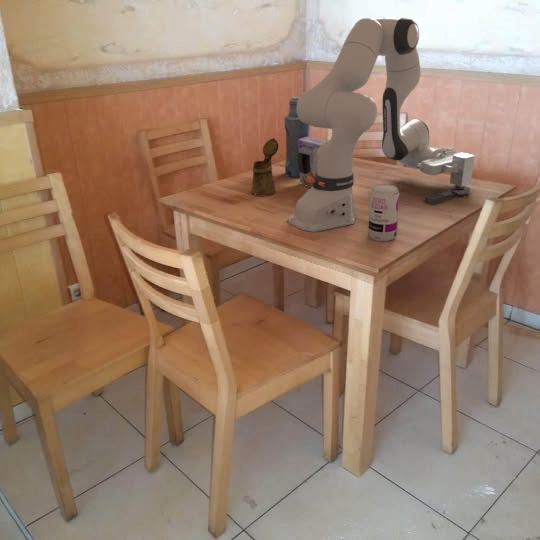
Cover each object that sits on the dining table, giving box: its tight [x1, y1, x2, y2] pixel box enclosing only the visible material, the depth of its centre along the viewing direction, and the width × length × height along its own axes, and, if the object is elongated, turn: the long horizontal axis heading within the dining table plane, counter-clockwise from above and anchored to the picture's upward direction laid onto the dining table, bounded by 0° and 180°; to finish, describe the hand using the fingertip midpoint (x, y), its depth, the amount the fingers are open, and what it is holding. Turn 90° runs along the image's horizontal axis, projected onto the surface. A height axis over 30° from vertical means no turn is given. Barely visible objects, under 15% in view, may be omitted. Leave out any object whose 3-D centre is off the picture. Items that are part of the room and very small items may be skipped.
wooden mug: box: [251, 137, 279, 196], centre depth 203 cm, size 9×14×18 cm, turn 150°
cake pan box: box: [298, 136, 326, 188], centre depth 203 cm, size 19×5×18 cm, turn 33°
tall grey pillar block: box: [449, 152, 475, 187], centre depth 192 cm, size 5×5×10 cm
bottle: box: [284, 96, 311, 178], centre depth 217 cm, size 10×10×30 cm
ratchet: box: [424, 184, 471, 206], centre depth 192 cm, size 19×7×6 cm, turn 124°
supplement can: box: [367, 183, 400, 242], centre depth 161 cm, size 8×8×15 cm
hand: (464, 168), depth 191 cm, fingers closed on tall grey pillar block, 5 cm apart
